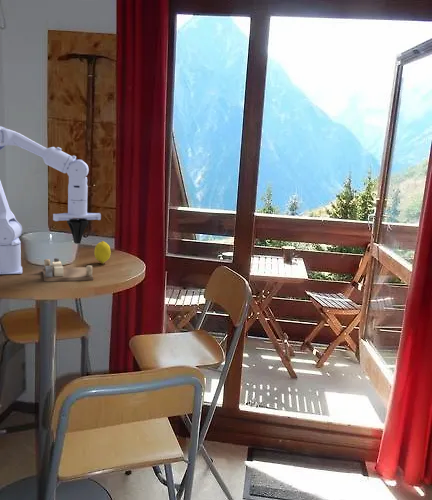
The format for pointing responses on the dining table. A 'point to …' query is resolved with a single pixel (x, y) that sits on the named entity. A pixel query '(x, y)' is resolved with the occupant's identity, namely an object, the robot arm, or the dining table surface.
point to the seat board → (67, 273)
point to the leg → (57, 267)
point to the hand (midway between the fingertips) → (77, 243)
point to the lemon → (102, 252)
